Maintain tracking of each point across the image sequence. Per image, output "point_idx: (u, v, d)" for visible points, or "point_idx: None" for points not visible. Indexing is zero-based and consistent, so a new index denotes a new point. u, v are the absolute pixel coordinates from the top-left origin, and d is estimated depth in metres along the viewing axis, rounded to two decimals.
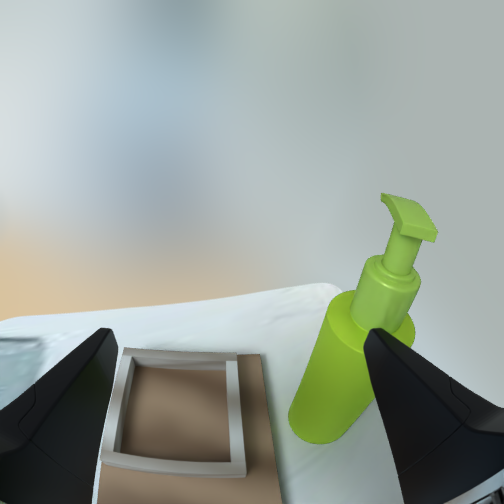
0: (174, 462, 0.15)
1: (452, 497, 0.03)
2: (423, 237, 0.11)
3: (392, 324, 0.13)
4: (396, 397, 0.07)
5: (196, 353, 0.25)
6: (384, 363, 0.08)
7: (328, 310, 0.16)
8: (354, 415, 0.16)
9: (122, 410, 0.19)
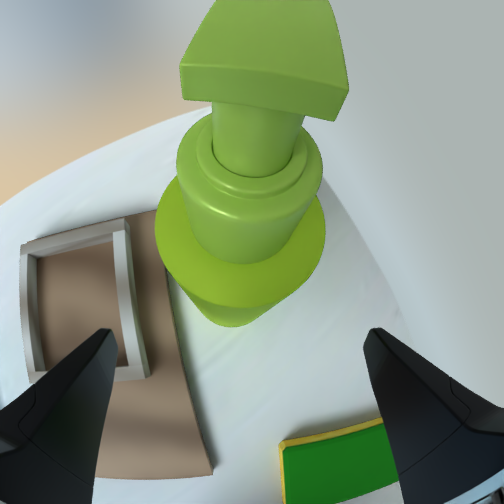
0: None
1: (452, 497, 0.03)
2: (283, 104, 0.03)
3: (254, 255, 0.08)
4: (396, 397, 0.07)
5: (82, 229, 0.19)
6: (384, 363, 0.08)
7: (159, 205, 0.09)
8: (252, 319, 0.15)
9: (32, 320, 0.17)
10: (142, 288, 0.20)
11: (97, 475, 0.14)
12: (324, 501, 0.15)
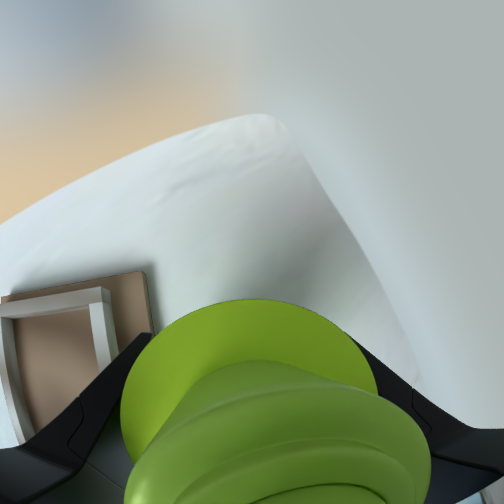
0: None
1: None
2: None
3: None
4: None
5: (55, 296, 0.15)
6: None
7: (122, 404, 0.05)
8: None
9: (15, 390, 0.13)
10: None
11: None
12: None
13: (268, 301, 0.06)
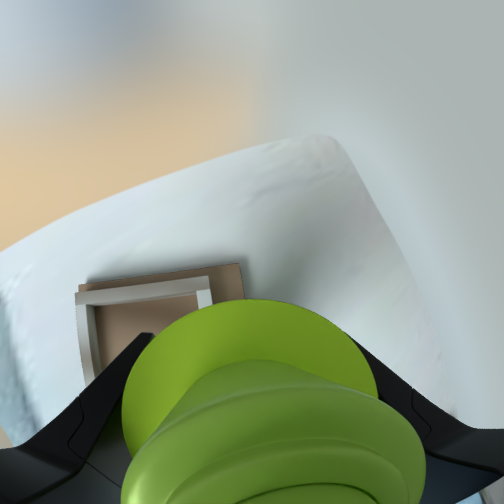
0: None
1: None
2: None
3: None
4: None
5: (157, 284, 0.19)
6: None
7: (124, 403, 0.05)
8: None
9: None
10: None
11: None
12: None
13: (267, 301, 0.06)
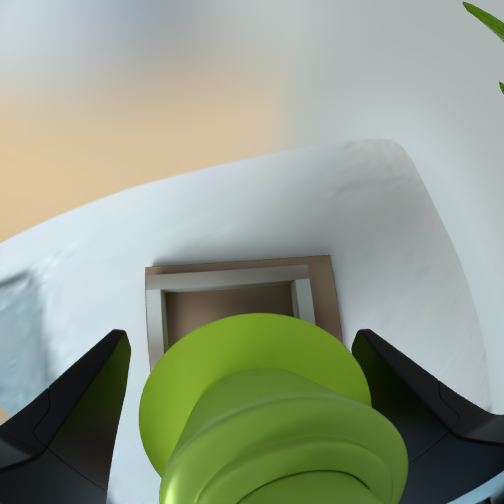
0: None
1: None
2: None
3: None
4: (383, 400, 0.07)
5: (253, 271, 0.19)
6: (371, 365, 0.08)
7: (141, 409, 0.05)
8: None
9: None
10: None
11: None
12: None
13: (270, 315, 0.06)
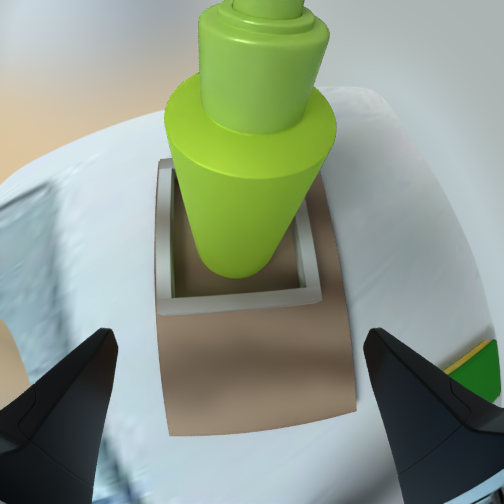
0: (245, 295, 0.18)
1: (452, 497, 0.03)
2: None
3: (268, 114, 0.07)
4: (396, 397, 0.07)
5: None
6: (384, 363, 0.08)
7: (170, 98, 0.08)
8: (260, 251, 0.15)
9: (171, 239, 0.19)
10: (308, 219, 0.22)
11: (221, 432, 0.16)
12: None
13: None
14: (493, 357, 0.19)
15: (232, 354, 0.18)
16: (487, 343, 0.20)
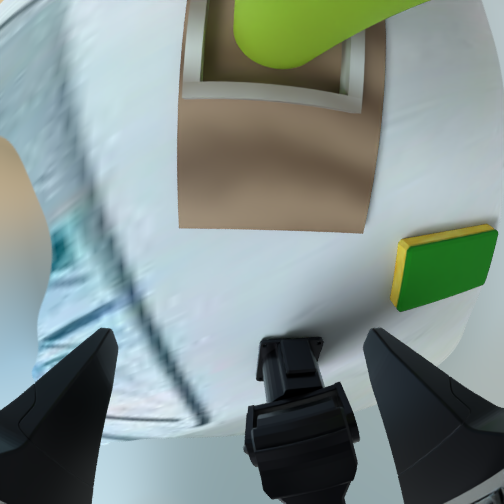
0: (283, 88, 0.14)
1: (452, 497, 0.03)
2: None
3: None
4: (396, 397, 0.07)
5: None
6: (384, 363, 0.08)
7: None
8: (315, 49, 0.10)
9: (205, 22, 0.12)
10: None
11: (232, 226, 0.20)
12: (423, 300, 0.24)
13: None
14: (490, 246, 0.22)
15: (256, 145, 0.17)
16: (490, 229, 0.21)
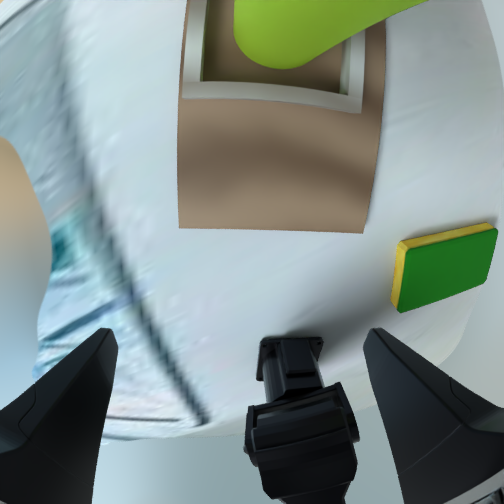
0: (283, 88, 0.14)
1: (452, 497, 0.03)
2: None
3: None
4: (396, 397, 0.07)
5: None
6: (384, 363, 0.08)
7: None
8: (315, 49, 0.10)
9: (205, 22, 0.12)
10: None
11: (232, 226, 0.20)
12: (424, 301, 0.24)
13: None
14: (490, 244, 0.21)
15: (256, 145, 0.17)
16: (489, 228, 0.21)
